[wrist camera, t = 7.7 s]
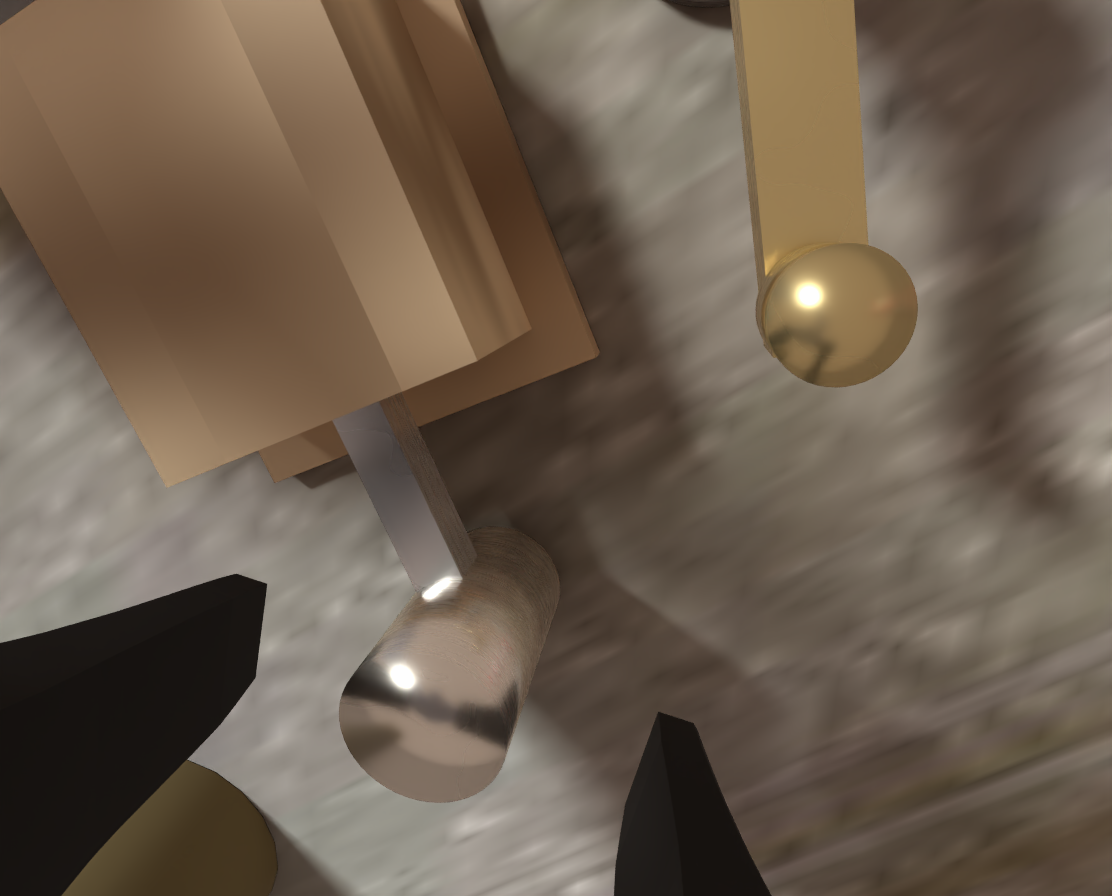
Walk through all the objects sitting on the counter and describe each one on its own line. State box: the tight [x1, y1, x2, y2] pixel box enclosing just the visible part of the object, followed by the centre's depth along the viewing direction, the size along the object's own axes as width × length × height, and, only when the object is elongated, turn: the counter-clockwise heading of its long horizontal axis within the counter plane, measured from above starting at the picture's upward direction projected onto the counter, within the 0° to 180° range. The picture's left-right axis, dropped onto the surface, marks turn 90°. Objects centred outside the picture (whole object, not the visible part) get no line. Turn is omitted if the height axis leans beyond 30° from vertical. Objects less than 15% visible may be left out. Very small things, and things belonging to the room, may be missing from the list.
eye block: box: [0, 0, 600, 488], centre depth 12 cm, size 9×8×4 cm
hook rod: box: [332, 392, 560, 803], centre depth 12 cm, size 14×3×5 cm, turn 23°
